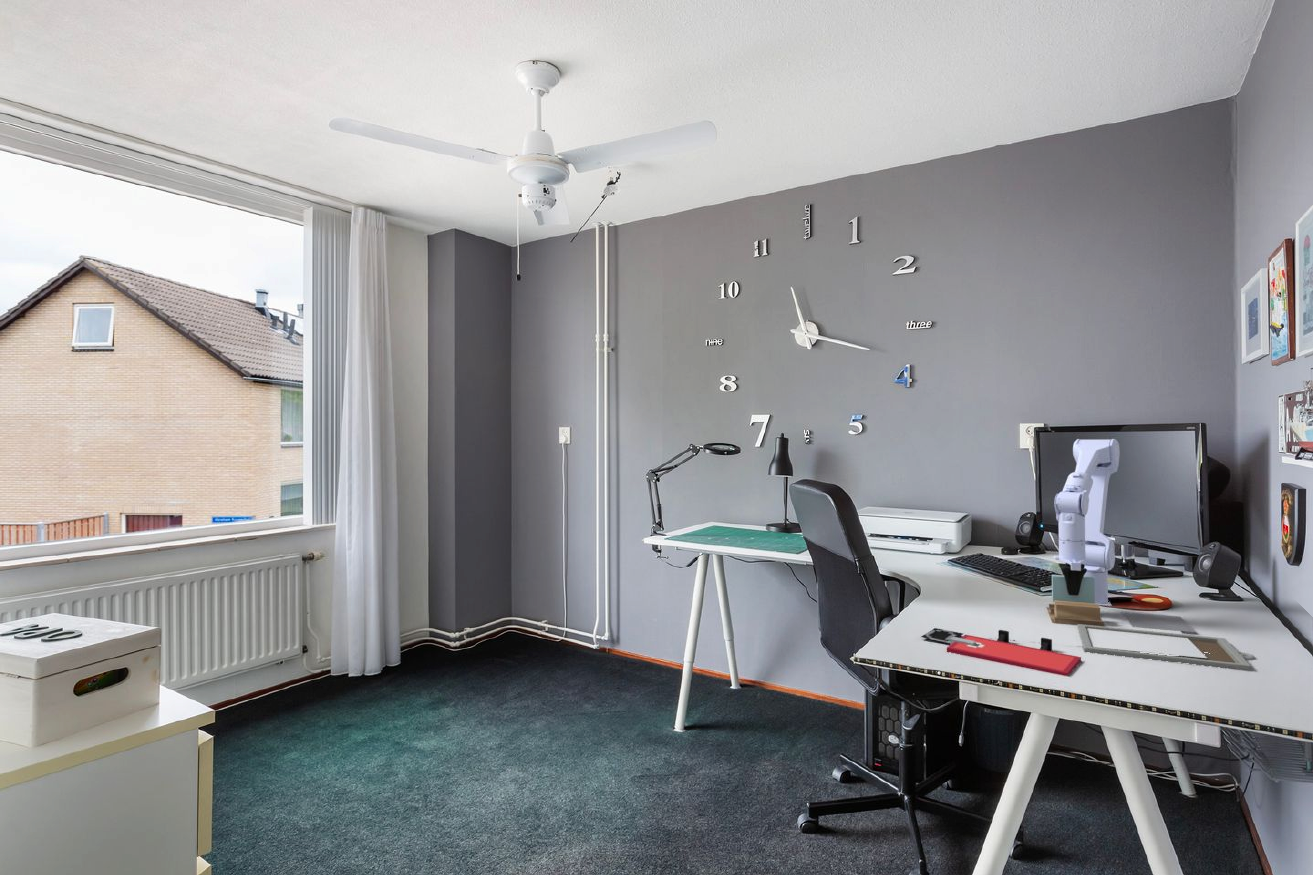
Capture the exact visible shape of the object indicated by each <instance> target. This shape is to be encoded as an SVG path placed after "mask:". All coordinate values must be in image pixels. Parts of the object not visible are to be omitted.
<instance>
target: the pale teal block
mask: <svg viewBox="0 0 1313 875" xmlns="http://www.w3.org/2000/svg"><path fill="white" fill-rule="evenodd" d="M1051 600H1052V602H1053V603H1054V600H1056V601H1069V602H1082V603H1095V579H1094V578H1093V577H1083V579H1082V582H1081V587H1080V591H1079V595H1078V596H1076V595H1069V594H1068V591H1067V587H1066V581H1065V577H1064V575H1063V574H1061V575H1060V574H1051Z"/></svg>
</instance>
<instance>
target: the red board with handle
mask: <svg viewBox="0 0 1313 875" xmlns="http://www.w3.org/2000/svg"><path fill="white" fill-rule="evenodd" d="M920 638H924V639H928V640H933V641H937V642H943V643H948V644H949V645H948V646H947V647H946V653H949V652H951V654H954V653H955V655H959V654H960V656H965V657H970V658H974V659H975V658H976V659H980V660H984V661H990V662H995V663H999V664H1003V665H1009V666H1014V667H1020V668H1024V669H1029V670H1033V671H1038V672H1039V671H1040V672H1043V673H1049V674H1053V675H1058V676H1064V677H1069V675H1070V674H1072V672H1073V671H1074V670H1075V669H1076V668H1077V667H1078V666H1079V664H1080V663H1081V662H1082V656H1078V655H1077V656H1076V655H1071V654H1067V653H1062V652H1056V651H1053V639H1052V638H1048V637H1047V638H1045V637H1041V638H1040V648H1036V647H1030V646H1026V645H1020V644H1015V643H1010V631H1009V630H1003V629H999V630H998V637H997V639H990V638H984V637H980V636H976V635H975V636H974V635H969V634H964V633H962V632H958V631H952V630H946V629H942V628H938V627H934V628H933V629H931V630H929V631H928V632H926V633H924V634H923V635H921V636H920Z"/></svg>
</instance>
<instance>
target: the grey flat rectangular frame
mask: <svg viewBox="0 0 1313 875" xmlns="http://www.w3.org/2000/svg"><path fill="white" fill-rule="evenodd" d="M1076 627H1077V630H1078V634H1079V637H1080V640H1081V644H1082V646H1081V647H1082V650H1083V653H1087V652H1090V653H1089V654H1095V653H1097V654H1098V655H1104V654H1107V655H1108V656H1114V655H1115V656H1114V657H1122V656H1125V657H1124V658H1131V657H1133V658H1132V659H1139V658H1143V659H1142V660H1148V659H1152V660H1151V661H1157V660H1161V661H1160V662H1166V661H1168V662H1167V663H1174V662H1181V663H1180V664H1183V663H1189V664H1188V665H1192V664H1196V665H1195V666H1201V665H1204V667H1209V666H1212V667H1211V668H1218V667H1220V669H1221V668H1222V669H1227V668H1228V670H1235V671H1236V670H1237V671H1245V672H1252V671H1253V669H1252V666H1251V664H1250V663H1249V662H1248V661H1254V660H1255V659H1256V656H1254V655H1253V654H1251V653H1247V652H1242V651H1239V649H1236V648H1235V647H1234V646H1233V645H1232V644H1231V643H1230V642H1229V641H1228V639H1226V638H1225V637H1212V636H1203V635H1196V634H1185V633H1173V632H1164V631H1163V632H1162V631H1154V630H1153V631H1151V630H1141V629H1134V628H1133V629H1131V628H1125V627H1124V628H1122V627H1112V626H1111V627H1110V626H1106V627H1103V626H1093V625H1083V624H1078V625H1076ZM1087 629H1089V630H1090V629H1092V630H1103V631H1113V632H1121V633H1132V634H1139V635H1151V636H1161V637H1170V638H1171V637H1173V638H1181V639H1187V640H1189V642H1191V644H1192V645H1193V646H1195V647H1196V648H1197V649H1198V650H1199V652H1200V653H1202V654H1203V655H1204V654H1205V655H1204V657H1200V656H1188V655H1179V656H1167V655H1158V654H1149V653H1150V652H1149V653H1140V652H1141V651H1135V650H1128V649H1127V650H1126V649H1116V648H1104V647H1098V646H1097V647H1095V646H1092V643H1091V640H1090V637H1089V634H1088V631H1087ZM1204 652H1208V653H1204ZM1209 653H1210V654H1209ZM1107 655H1106V656H1107Z"/></svg>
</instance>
